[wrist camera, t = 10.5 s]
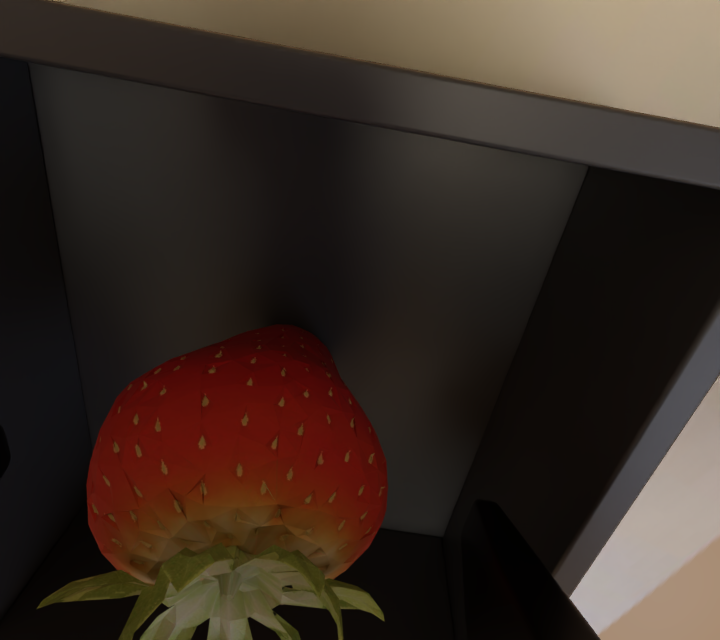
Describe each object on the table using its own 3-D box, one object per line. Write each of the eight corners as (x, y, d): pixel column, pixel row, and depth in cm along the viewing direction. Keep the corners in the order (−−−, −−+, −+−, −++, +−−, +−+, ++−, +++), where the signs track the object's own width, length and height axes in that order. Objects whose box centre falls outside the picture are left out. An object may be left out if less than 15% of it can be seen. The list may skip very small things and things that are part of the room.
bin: (618, 119, 10) (871, 155, 5) (451, 530, 17) (481, 730, 11) (18, 5, 9) (-420, -89, 4) (96, 475, 16) (-39, 657, 11)
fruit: (298, 451, 14) (209, 827, 7) (156, 343, 12) (-151, 691, 5) (424, 360, 12) (478, 744, 5) (277, 218, 10) (55, 496, 3)
